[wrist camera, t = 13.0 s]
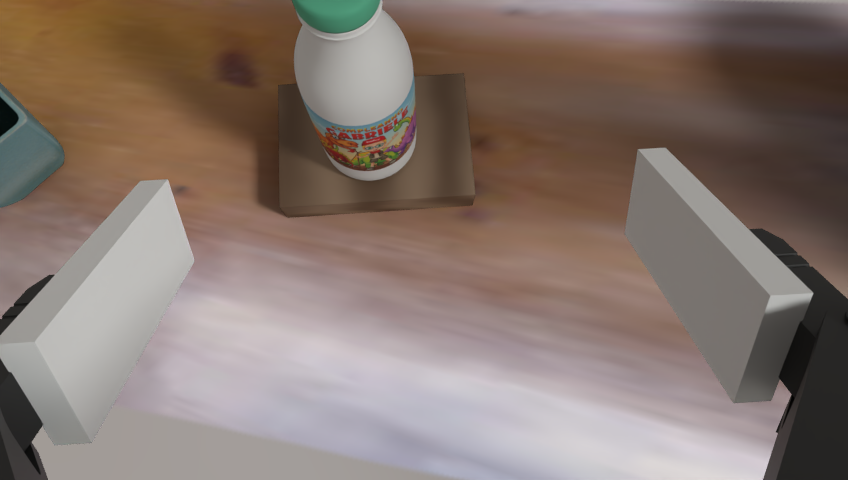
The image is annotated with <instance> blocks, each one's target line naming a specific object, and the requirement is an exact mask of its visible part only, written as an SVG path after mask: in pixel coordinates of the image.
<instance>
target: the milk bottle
mask: <svg viewBox="0 0 848 480" xmlns="http://www.w3.org/2000/svg"><path fill="white" fill-rule="evenodd" d="M292 2H293V5H294V7H295V9H296V13H297V16H298V18H299V20H300V22H301V23H302V27H301V29H300V32H299V35H298V37H297V41H296V45H295V52H294V70H295V76H296V81H297V85H298V88H299V91H300V93H301V96H302V99H303V102H304V104H305V106H306V109H307V111H308V114H309V116H310V118H311V121H312V123H313V125H314V127H315V130H316V132H317V134H318V136H319V139H320V141H321V143H322V145H323V148H324V150H325V152H326V154H327V156H328V157H329V159H330V161H331V162H332V164H333V165H334V166H335V167H336V168H337V169H338V170H339V171H341V172H342V173H344V174H345V175H347V176H349V177H352V178H355V179H359V180H366V181H372V180H379V179H383V178H386V177H389V176H391V175H393V174H394V173H396V172H398V171H399V170H400V169H401V168H402V167H403V166H404V165H405V164H406V163H407V162H408V160H409V159H410V157H411V156H412V153H413V151H414V148H415V144H416V104H415V83H414V72H413V63H412V57H411V53H410V49H409V46H408V43H407V41H406V39H405V37H404V35H403V33H402V31H401V29H400V28H399V26H398V25H397V24H396V22H395V21H394V20H393V19H392V18H391V17H390V16H389V15H388V14H387V13H386V12H385V11H384V10H383V9H382V2H383V0H292Z"/></svg>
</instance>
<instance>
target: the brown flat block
mask: <svg viewBox="0 0 848 480" xmlns="http://www.w3.org/2000/svg"><path fill="white" fill-rule="evenodd" d="M414 83H415V104H416V144H415V148H414V151H413V153H412V156H411V157H410V159H409V160H408V162H407V163H406V164H405V165H404V166H403V167H402V168H401V169H400V170H399V171H398V172H396V173H394V174H393V175H391V176H389V177H386V178H383V179H379V180H372V181H366V180H359V179H355V178H352V177H349V176H347V175H345V174H344V173H342V172H341V171H339V170H338V169H337V168H336V167H335V166H334V165H333V164H332V162H331V161H330V159H329V157H328V156H327V154H326V152H325V150H324V148H323V145H322V143H321V141H320V139H319V136H318V134H317V132H316V130H315V127H314V125H313V123H312V121H311V118H310V116H309V114H308V111H307V109H306V106H305V104H304V102H303V99H302V96H301V93H300V91H299V88H298V85H297V84H287V85H278V108H279V208H280V209H281V210H282V211H283V212H284V213H285V215H286V216H287V217H288V218H289V217H304V216H320V215H335V214H350V213H365V212H380V211H395V210H410V209H425V208H440V207H455V206H470V205H473V201H474V198H475V185H474V175H473V164H472V154H471V143H470V132H469V122H468V111H467V101H466V90H465V80H464V73H462V74H446V75H430V76H414Z"/></svg>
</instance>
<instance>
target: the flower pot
mask: <svg viewBox="0 0 848 480" xmlns="http://www.w3.org/2000/svg"><path fill="white" fill-rule="evenodd" d="M63 163H64V151H63V148H62V146H61V145H60V143H59V142H58V141H57V140H56V139H55V138H54V136H53V135H51V134H50V133H49V132H48V131H47V130H46V129H45V128H44V127H43V126H42V125H41V124H40V123H39V122H38V121H37V120H36V119H35V117H34V116H33V115H32V114H31V113H30V112H29V111H28V110H27V109H26V108H25V107H24V106H23V105H22V104H21V103H20V102H19V101H18V100H17V99H16V98H15V97H14V96H13V95H12V94H11V93H10V92H9V91H8V90H7V89H6V88H5V87H4V86H3V85H2V84H1V83H0V207H5V206H8V205H11V204H13V203H16V202H18V201H20V200H22V199H24V198H25V197H26V196H27V195H28V194H29V193H31V192H32V191H33V190H34V189H35V188H36V187H37V186H38V185H40V184H41V183H42V182H43V181H44V180H45V179H47V178H48V177H49V176H50V175H51V174H52V173H54V172H55V171H56V170H57V169H58V168H59V167H61V166H62V164H63Z"/></svg>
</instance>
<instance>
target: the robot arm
mask: <svg viewBox="0 0 848 480" xmlns="http://www.w3.org/2000/svg"><path fill="white" fill-rule="evenodd" d="M625 235H626V237H627V238H628V240H629V242H630V243H631V245H632V246H633V248H634V249H635V251H636V252H637V254H638V256H639V257H640V259H641V260H642V262H643V263H644V265H645V266H646V268H647V270H648V271H649V273H650V274H651V276H652V277H653V279H654V280H655V282H656V284H657V285H658V287H659V288H660V290H661V291H662V293H663V294H664V296H665V298H666V299H667V301H668V302H669V304H670V305H671V307H672V308H673V310H674V311H675V313H676V315H677V316H678V318H679V319H680V321H681V322H682V324H683V325H684V327H685V329H686V330H687V332H688V333H689V335H690V336H691V338H692V339H693V341H694V343H695V344H696V346H697V347H698V349H699V350H700V352H701V353H702V355H703V357H704V358H705V360H706V361H707V363H708V364H709V366H710V367H711V369H712V371H713V372H714V374H715V375H716V377H717V378H718V380H719V381H720V383H721V385H722V386H723V388H724V389H725V391H726V392H727V394H728V395H729V397H730V399H731V400H732V402H733V403H744V402H760V401H771V400H772V397H773V395H774V392H775V390H776V387H777V385H778V382H779V380H781V381H782V382H783V384H784V385H785V386H786V387H787V389H788V390H789V391H790V393H791V394H792V395H791V397H790V400H789V402H788V404H787V407H786V409H785V411H784V414H783V416H782V419H781V421H780V423H779V426H778V428H777V431H776V432H777V433H778V435H777V438H776V441H775V444H774V447H773V450H772V454H771V457H770V460H769V463H768V466H767V469H766V472H765V475H764V479H763V480H848V299H847V298H846V297H845V296H844V295H843V294H842V293H840V292H839V291H838V290H837V289H836V288H835V287H834V286H833V285H832V284H831V283H830V282H828V281H827V280H826V279H825V278H824V277H823V276H822V275H821V274H820V273H819V272H818V271H817V270H815V269H814V268H813V267H810V266H809V263H808V262H807V261H806V260H805V259H803V258H802V257H801V256H798V255H797V252H796V251H795V250H794V249H793V248H791V247H790V246H789V245H788V244H787V243H786V242H785V241H784V240H783V239H781V238H779V237H777V236H775V235H773V234H771V233H769V232H767V231H765V230H763V229H748V228H747V227H746V226H745V225H744V224H743V223H742V222H741V221H740V220H739V219H738V218H737V217H736V216H735V215H734V214H733V213H731V212H730V211H729V210H728V209H727V208H726V207H725V206H724V205H723V204H722V203H721V202H720V201H719V200H718V199H717V198H716V197H715V196H714V195H713V194H712V193H711V192H710V191H709V190H708V189H707V188H706V187H705V186H704V185H703V184H702V183H701V182H700V181H699V180H698V179H697V178H696V177H695V176H694V175H693V174H692V173H691V172H690V171H689V170H688V169H687V168H686V167H685V166H684V165H683V164H682V163H681V162H680V161H679V160H677V159H676V158H675V157H674V156H673V155H672V154H671V153H670V152H669V151H668V150H667V149H666V148H651V149H638V152H637V158H636V164H635V171H634V177H633V183H632V190H631V196H630V202H629V209H628V215H627V221H626V228H625ZM193 263H194V258H193V255H192V252H191V249H190V245H189V242H188V239H187V236H186V233H185V230H184V227H183V224H182V221H181V218H180V215H179V212H178V209H177V206H176V203H175V200H174V197H173V194H172V191H171V188H170V185H169V182H168V179H165V180H149V181H140V182H139V183H138V184H137V185H136V186H135V187H134V189H133V190H132V191H131V192H130V193H129V194H128V195H127V196H126V197H125V198H124V200H123V201H122V202H121V203H120V204H119V205H118V206H117V207H116V208H115V209H114V211H113V212H112V213H111V214H110V215H109V216H108V217H107V218H106V219H105V220H104V222H103V223H102V224H101V225H100V226H99V227H98V228H97V229H96V230H95V231H94V233H93V234H92V235H91V236H90V237H89V238H88V239H87V240H86V241H85V242H84V244H83V245H82V246H81V247H80V248H79V249H78V250H77V251H76V252H75V253H74V255H73V256H72V257H71V258H70V259H69V260H68V261H67V262H66V263H65V265H64V266H63V267H62V268H61V269H60V270H59V271H58V272H57V273H56V274H55V275H48V276H47V277H45V278H44V279H42V280H41V281H39V282H38V283H36V284H35V285H33V286H32V287H30V288H28V289H27V290H26V291H25V292H24V294H23V295H22V296H21V297H20V298H19V299H18V300H17V301H16V302H15V303H14V307H10V308H9V309H8V310H7V312H6V313H5V314H4V315H3V316H2V319H0V480H48V478H47V476H46V472H45V470H44V467H43V464H42V462H41V459H40V456H39V453H38V452H37V450H36V449H35V447H34V445H33V444H32V440H33V439H34V437H35V436H36V434H37V433H38V431H39V430H40V428H41V427H42V426H43V428H44V429H45V431H46V433H47V434H48V436H49V437H50V439H51V441H52V442H53V444H54V445H68V444H84V443H92V442H93V440H94V438H95V436H96V434H97V433H98V431H99V429H100V427H101V426H102V424H103V422H104V420H105V419H106V417H107V415H108V413H109V411H110V410H111V408H112V406H113V404H114V403H115V401H116V399H117V397H118V396H119V394H120V392H121V390H122V388H123V387H124V385H125V383H126V381H127V380H128V378H129V376H130V374H131V373H132V371H133V369H134V367H135V365H136V364H137V362H138V360H139V358H140V357H141V355H142V353H143V351H144V350H145V348H146V346H147V344H148V343H149V341H150V339H151V337H152V335H153V334H154V332H155V330H156V328H157V327H158V325H159V323H160V321H161V320H162V318H163V316H164V314H165V312H166V311H167V309H168V307H169V305H170V304H171V302H172V300H173V298H174V297H175V295H176V293H177V291H178V289H179V288H180V286H181V284H182V282H183V281H184V279H185V277H186V275H187V274H188V272H189V270H190V268H191V266H192V265H193Z"/></svg>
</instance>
